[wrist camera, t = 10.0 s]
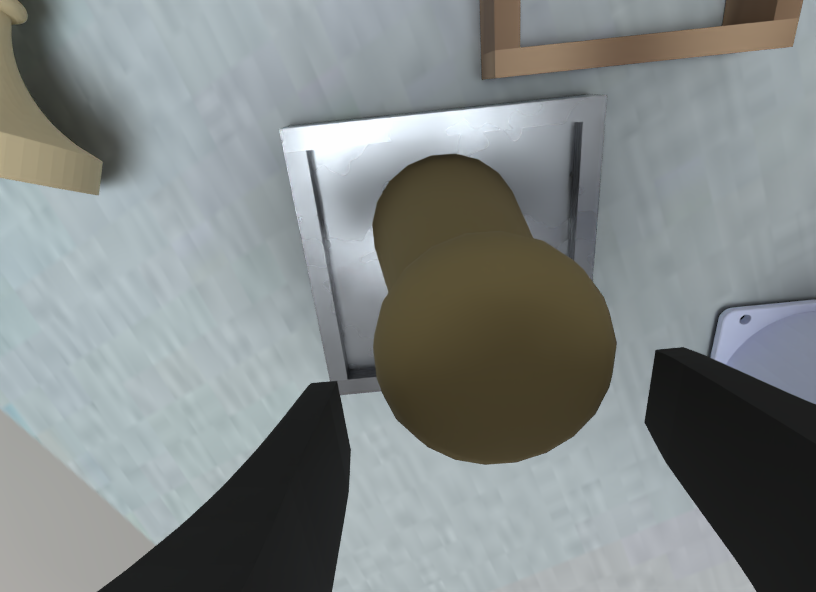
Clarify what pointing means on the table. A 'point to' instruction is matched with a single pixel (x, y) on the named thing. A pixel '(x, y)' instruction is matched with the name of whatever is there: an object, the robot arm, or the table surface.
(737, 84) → the table surface
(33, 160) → the door knob
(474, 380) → the olive peg figure
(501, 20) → the walnut stand
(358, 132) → the grey square tray
